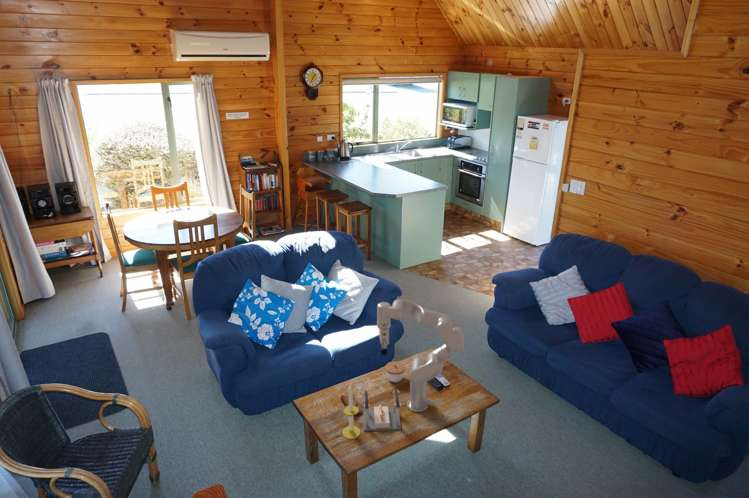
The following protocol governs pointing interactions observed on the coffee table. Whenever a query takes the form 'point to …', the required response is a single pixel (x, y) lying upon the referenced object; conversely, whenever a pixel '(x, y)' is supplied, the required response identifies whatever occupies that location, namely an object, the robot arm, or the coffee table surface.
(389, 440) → the coffee table surface
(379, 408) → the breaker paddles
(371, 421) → the board
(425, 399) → the robot arm
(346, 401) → the sunglasses case
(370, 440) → the coffee table surface
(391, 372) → the lidded bowl
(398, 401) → the dark gray rod
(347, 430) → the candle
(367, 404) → the dark grey rod
